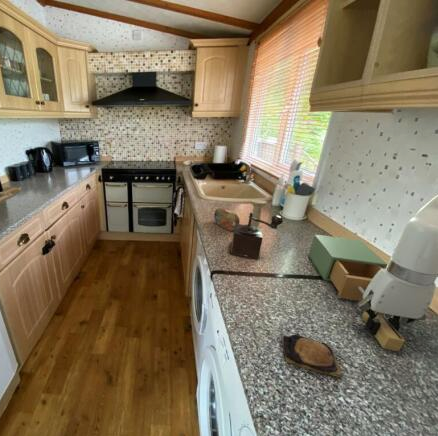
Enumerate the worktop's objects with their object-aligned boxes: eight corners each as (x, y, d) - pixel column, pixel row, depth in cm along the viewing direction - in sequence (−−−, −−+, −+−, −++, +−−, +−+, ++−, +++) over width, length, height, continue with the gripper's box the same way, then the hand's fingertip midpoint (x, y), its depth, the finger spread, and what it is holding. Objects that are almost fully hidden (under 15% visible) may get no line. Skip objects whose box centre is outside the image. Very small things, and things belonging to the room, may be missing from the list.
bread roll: (330, 347, 57) (335, 336, 56) (342, 381, 50) (348, 369, 48) (280, 334, 61) (283, 323, 59) (285, 363, 53) (289, 351, 52)
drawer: (405, 319, 64) (417, 297, 61) (346, 308, 68) (355, 287, 65) (365, 274, 82) (373, 256, 79) (320, 268, 86) (326, 250, 83)
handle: (245, 228, 118) (250, 199, 112) (259, 230, 116) (265, 200, 110) (246, 232, 114) (251, 202, 108) (260, 234, 112) (267, 203, 106)
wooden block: (361, 317, 66) (366, 307, 65) (374, 319, 65) (379, 309, 64) (383, 348, 57) (389, 337, 56) (398, 351, 56) (405, 340, 55)
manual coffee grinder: (230, 255, 95) (237, 212, 88) (231, 242, 104) (237, 203, 97) (273, 263, 90) (285, 218, 83) (270, 249, 100) (280, 208, 92)
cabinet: (376, 288, 77) (387, 264, 74) (324, 280, 81) (332, 256, 77) (351, 260, 92) (360, 239, 88) (308, 255, 96) (314, 234, 92)
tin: (213, 221, 125) (214, 206, 122) (217, 220, 126) (219, 205, 123) (233, 233, 113) (236, 216, 109) (239, 232, 114) (241, 215, 111)
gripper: (443, 268, 55) (408, 328, 62) (358, 257, 59) (335, 314, 66) (473, 289, 48) (430, 353, 56) (376, 275, 53) (348, 336, 60)
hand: (379, 331), depth 61 cm, fingers closed on wooden block, 3 cm apart
